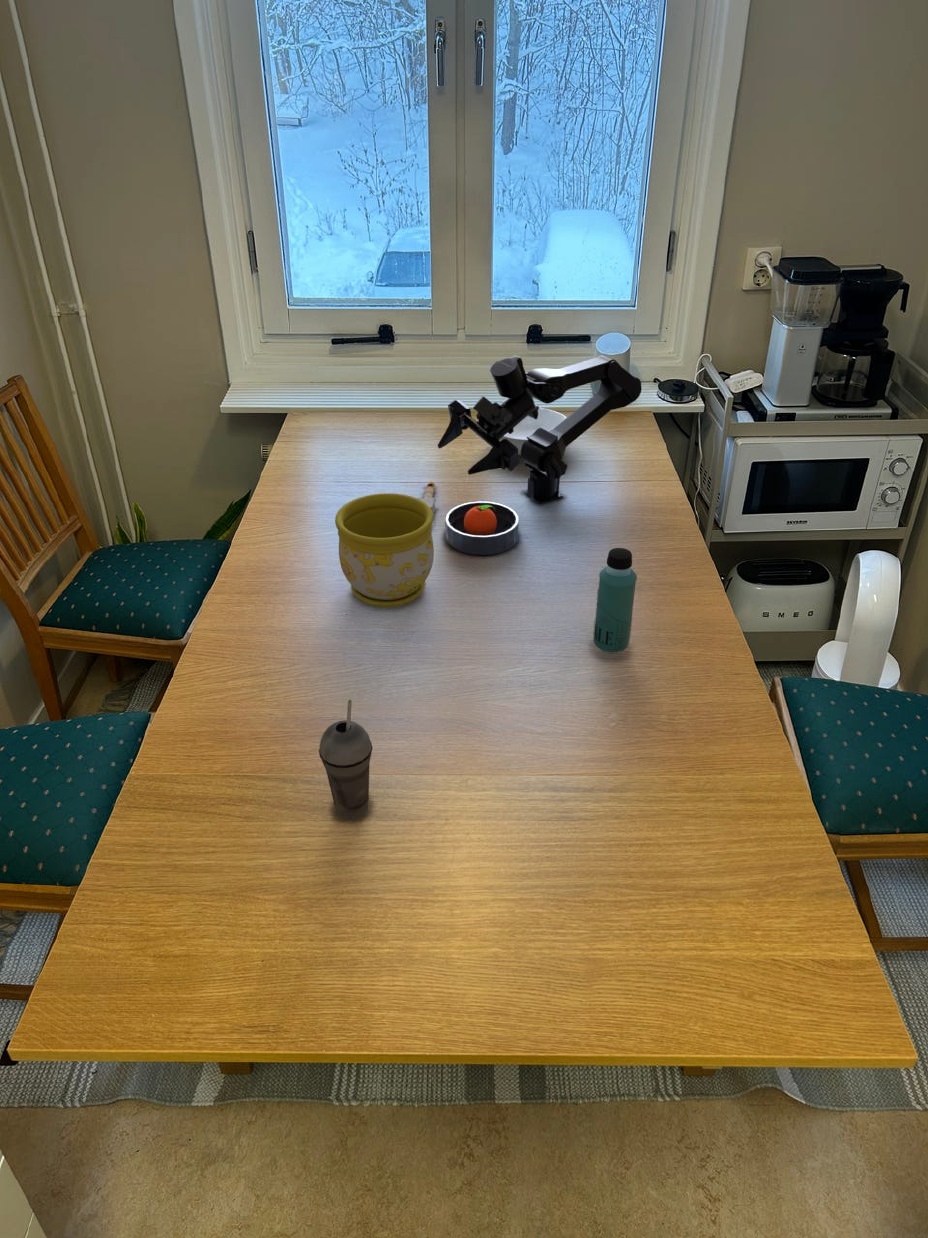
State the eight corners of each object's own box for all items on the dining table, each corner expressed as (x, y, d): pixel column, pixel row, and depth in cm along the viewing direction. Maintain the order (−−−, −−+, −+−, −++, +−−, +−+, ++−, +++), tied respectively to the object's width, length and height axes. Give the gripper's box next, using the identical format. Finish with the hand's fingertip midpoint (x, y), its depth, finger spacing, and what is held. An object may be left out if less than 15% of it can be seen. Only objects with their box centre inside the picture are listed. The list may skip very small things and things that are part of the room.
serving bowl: (573, 466, 222) (574, 439, 218) (486, 466, 222) (486, 439, 218) (566, 430, 239) (567, 405, 235) (485, 430, 239) (485, 405, 235)
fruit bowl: (493, 513, 203) (493, 495, 200) (531, 543, 192) (532, 524, 190) (433, 531, 197) (432, 512, 194) (469, 563, 186) (469, 544, 183)
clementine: (483, 523, 198) (483, 494, 194) (506, 535, 194) (507, 505, 190) (456, 536, 194) (456, 507, 190) (480, 549, 190) (480, 518, 186)
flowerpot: (322, 591, 178) (314, 516, 168) (390, 555, 188) (386, 483, 179) (386, 628, 168) (381, 551, 158) (454, 588, 178) (453, 513, 169)
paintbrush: (411, 517, 195) (423, 479, 212) (412, 529, 196) (423, 489, 213) (429, 518, 195) (439, 479, 211) (430, 529, 196) (440, 490, 213)
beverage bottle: (632, 642, 164) (644, 545, 152) (624, 664, 159) (636, 565, 147) (596, 635, 166) (605, 539, 154) (587, 656, 161) (596, 558, 149)
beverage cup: (327, 791, 135) (313, 685, 123) (377, 788, 135) (368, 682, 123) (325, 829, 129) (311, 721, 117) (377, 825, 129) (368, 718, 118)
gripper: (474, 364, 188) (417, 410, 184) (538, 415, 181) (480, 464, 178) (479, 398, 198) (425, 442, 194) (540, 448, 191) (485, 494, 188)
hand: (453, 459), depth 188 cm, fingers open, 9 cm apart
